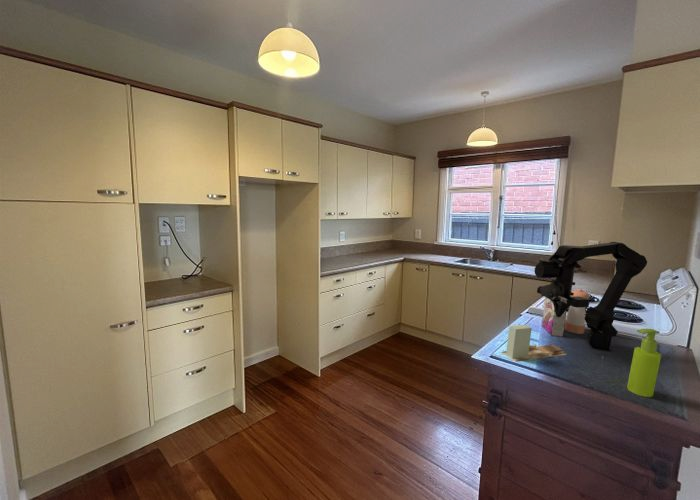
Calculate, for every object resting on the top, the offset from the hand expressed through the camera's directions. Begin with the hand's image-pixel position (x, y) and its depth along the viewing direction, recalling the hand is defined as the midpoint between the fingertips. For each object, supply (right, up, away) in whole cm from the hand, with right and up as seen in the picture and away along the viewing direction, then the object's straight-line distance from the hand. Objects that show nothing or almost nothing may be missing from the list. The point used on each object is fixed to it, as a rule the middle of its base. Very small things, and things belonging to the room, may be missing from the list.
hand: (558, 316), depth 124 cm
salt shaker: (+19, -10, +18) cm, 28 cm away
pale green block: (-21, -12, -9) cm, 26 cm away
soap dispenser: (+6, -17, -27) cm, 33 cm away
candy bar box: (+8, -10, +16) cm, 20 cm away
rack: (-14, -13, -7) cm, 20 cm away
